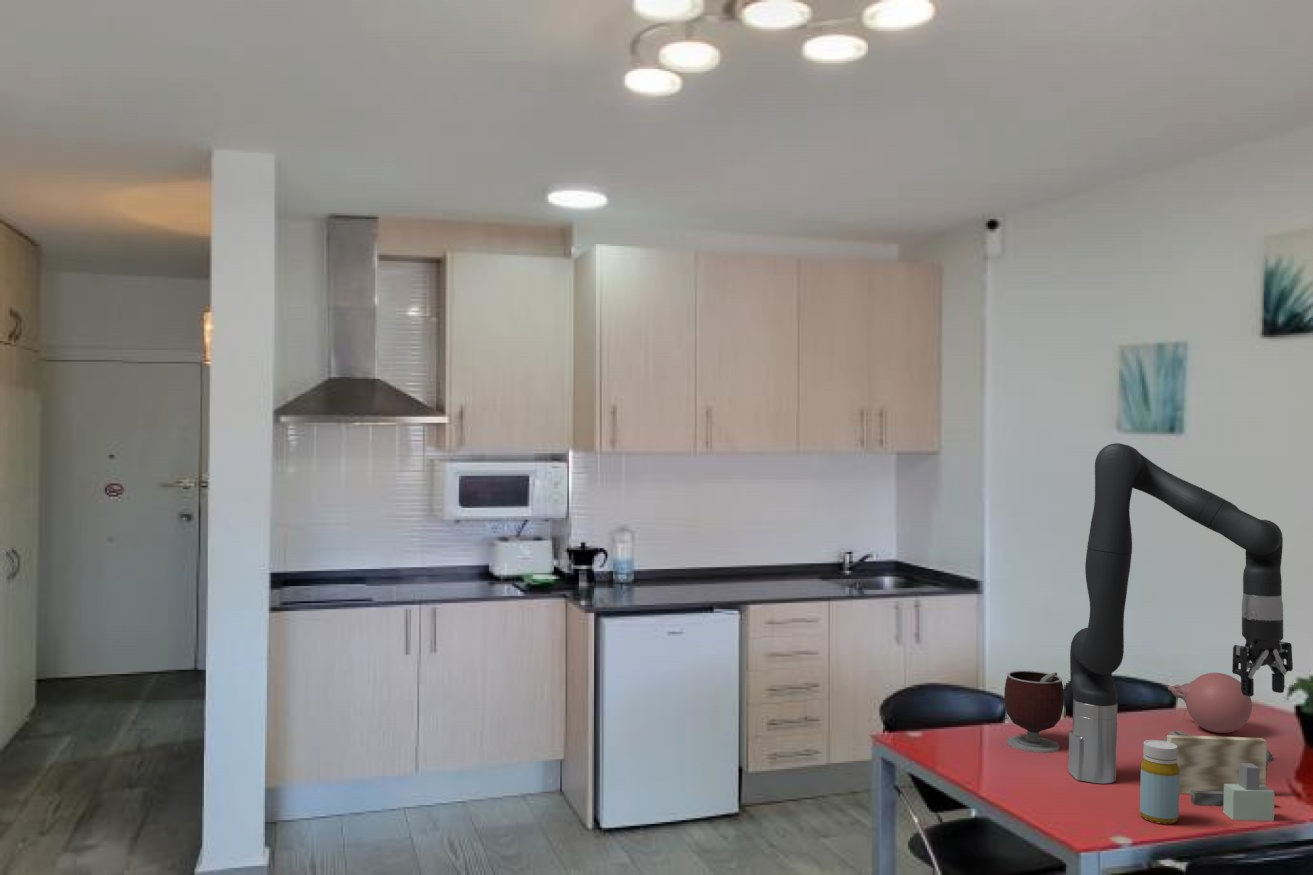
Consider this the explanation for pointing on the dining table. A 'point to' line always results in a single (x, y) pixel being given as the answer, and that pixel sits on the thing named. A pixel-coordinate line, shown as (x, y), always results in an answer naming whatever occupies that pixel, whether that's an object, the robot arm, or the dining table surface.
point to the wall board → (1215, 764)
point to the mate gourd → (1034, 707)
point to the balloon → (1215, 702)
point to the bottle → (1159, 782)
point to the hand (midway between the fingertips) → (1262, 693)
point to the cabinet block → (1248, 797)
